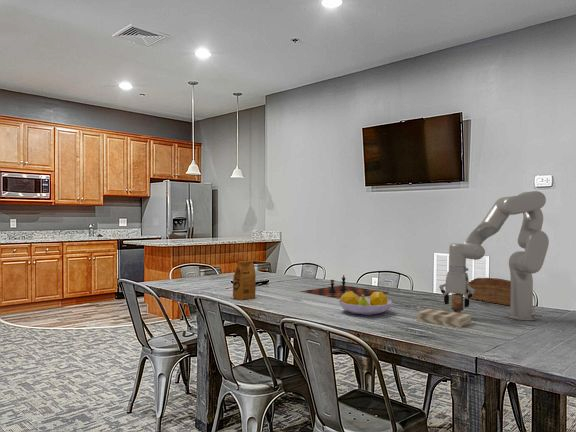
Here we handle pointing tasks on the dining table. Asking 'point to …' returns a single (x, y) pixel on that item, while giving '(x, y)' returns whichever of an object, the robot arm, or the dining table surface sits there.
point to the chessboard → (341, 290)
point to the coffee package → (244, 281)
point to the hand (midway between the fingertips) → (456, 305)
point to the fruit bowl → (365, 303)
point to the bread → (491, 290)
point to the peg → (457, 302)
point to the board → (444, 317)
